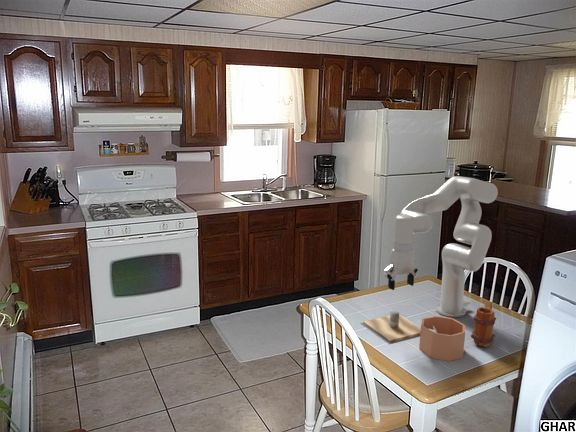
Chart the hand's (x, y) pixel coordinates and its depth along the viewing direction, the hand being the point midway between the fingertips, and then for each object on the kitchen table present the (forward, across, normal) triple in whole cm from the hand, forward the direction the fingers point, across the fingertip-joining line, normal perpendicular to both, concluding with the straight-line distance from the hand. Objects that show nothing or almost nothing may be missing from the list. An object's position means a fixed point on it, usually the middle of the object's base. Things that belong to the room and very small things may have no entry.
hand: (400, 286), depth 189 cm
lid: (+19, +1, -2) cm, 19 cm away
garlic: (+14, -2, +19) cm, 23 cm away
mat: (+20, +1, -2) cm, 20 cm away
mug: (+20, -25, +22) cm, 38 cm away
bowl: (+20, -5, +19) cm, 28 cm away
